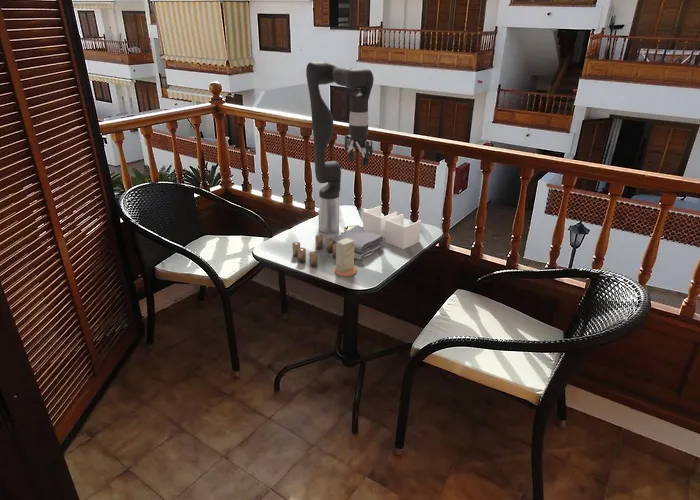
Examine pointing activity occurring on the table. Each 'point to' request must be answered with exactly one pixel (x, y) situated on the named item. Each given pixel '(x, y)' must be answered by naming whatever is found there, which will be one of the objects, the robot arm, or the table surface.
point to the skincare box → (345, 255)
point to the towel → (362, 241)
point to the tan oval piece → (347, 273)
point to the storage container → (391, 228)
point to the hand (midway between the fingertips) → (357, 163)
